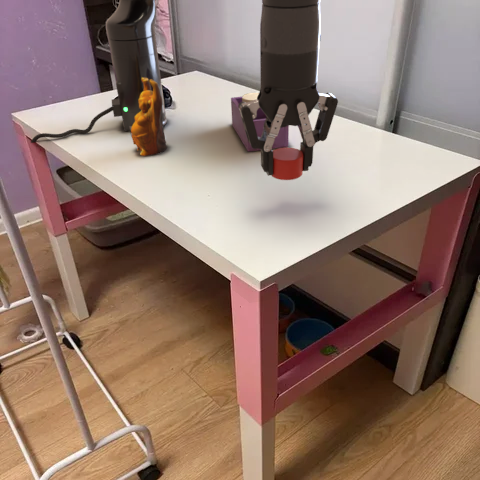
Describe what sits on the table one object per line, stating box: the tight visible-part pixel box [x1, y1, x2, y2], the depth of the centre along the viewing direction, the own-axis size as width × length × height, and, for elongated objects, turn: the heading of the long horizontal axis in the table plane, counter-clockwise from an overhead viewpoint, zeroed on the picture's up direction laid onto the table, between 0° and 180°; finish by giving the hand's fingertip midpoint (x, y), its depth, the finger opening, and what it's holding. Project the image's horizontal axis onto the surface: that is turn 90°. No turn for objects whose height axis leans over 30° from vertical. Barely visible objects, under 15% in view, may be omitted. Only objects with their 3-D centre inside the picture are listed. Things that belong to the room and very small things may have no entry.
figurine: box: [130, 78, 168, 157], centre depth 95 cm, size 6×7×13 cm
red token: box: [270, 147, 304, 181], centre depth 75 cm, size 5×5×3 cm
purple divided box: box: [230, 96, 290, 153], centre depth 102 cm, size 8×15×6 cm, turn 12°
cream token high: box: [241, 92, 259, 103], centre depth 103 cm, size 5×5×3 cm
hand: (286, 170), depth 76 cm, fingers closed on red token, 4 cm apart
